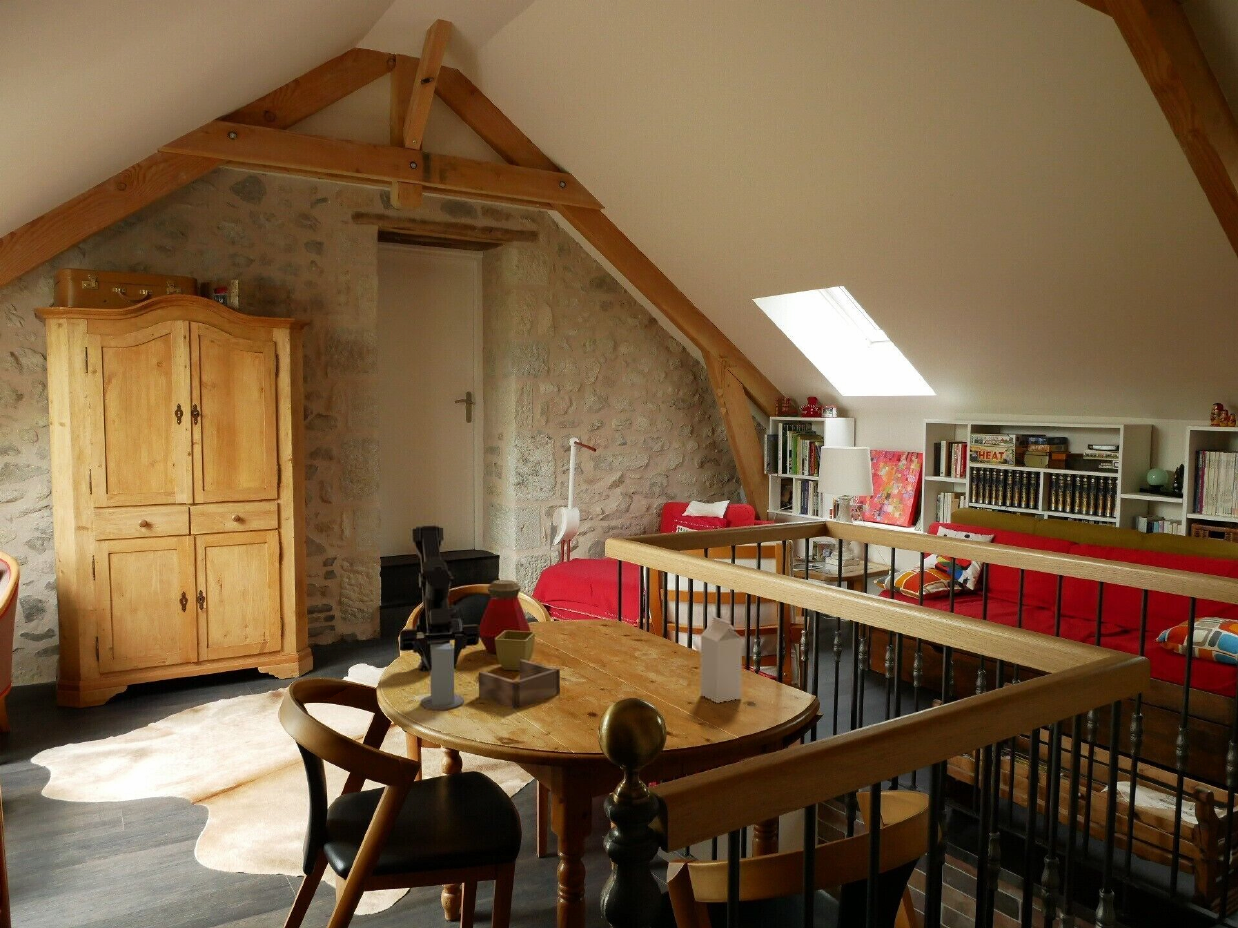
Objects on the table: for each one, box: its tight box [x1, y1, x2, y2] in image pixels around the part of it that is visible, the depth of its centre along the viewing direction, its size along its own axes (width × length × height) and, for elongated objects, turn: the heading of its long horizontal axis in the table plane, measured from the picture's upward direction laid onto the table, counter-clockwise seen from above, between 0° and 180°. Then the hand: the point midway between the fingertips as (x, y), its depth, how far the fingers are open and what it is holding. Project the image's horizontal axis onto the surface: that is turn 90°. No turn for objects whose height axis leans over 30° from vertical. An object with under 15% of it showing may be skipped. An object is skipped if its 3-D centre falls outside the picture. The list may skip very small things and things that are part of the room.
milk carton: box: [700, 616, 743, 704], centre depth 217 cm, size 7×7×19 cm
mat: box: [420, 693, 465, 711], centre depth 213 cm, size 10×10×1 cm
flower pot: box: [495, 631, 536, 671], centre depth 241 cm, size 9×9×9 cm
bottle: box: [478, 579, 531, 656], centre depth 257 cm, size 16×14×20 cm
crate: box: [478, 659, 561, 710], centre depth 219 cm, size 13×14×6 cm
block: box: [429, 642, 455, 705], centre depth 213 cm, size 5×5×13 cm
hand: (442, 668), depth 211 cm, fingers open, 5 cm apart
